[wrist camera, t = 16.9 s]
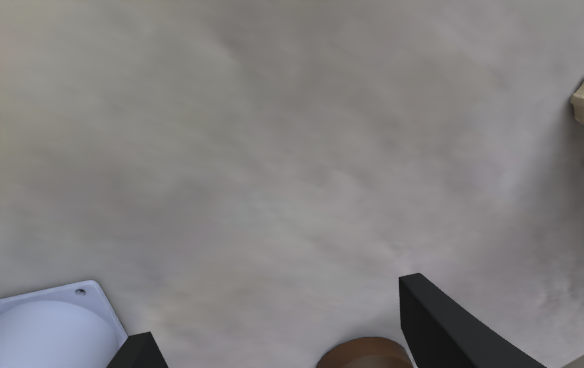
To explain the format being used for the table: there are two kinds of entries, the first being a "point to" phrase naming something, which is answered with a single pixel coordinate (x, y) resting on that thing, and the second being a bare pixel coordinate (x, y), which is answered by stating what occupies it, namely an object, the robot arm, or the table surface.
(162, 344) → the table surface
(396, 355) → the joystick
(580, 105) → the handle
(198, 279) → the table surface
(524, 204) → the table surface
